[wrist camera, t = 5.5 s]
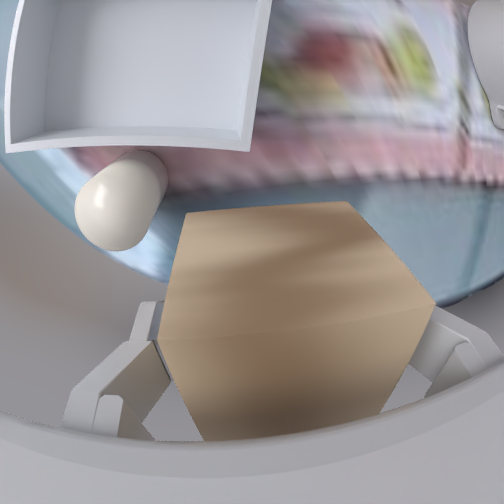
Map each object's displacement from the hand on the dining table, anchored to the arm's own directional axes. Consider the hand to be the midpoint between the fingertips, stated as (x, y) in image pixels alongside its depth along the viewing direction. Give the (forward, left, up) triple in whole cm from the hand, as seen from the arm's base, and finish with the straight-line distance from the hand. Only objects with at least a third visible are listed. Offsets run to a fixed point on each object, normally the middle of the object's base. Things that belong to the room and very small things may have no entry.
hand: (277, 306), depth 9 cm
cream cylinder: (+8, +1, -16) cm, 18 cm away
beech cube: (0, 0, -2) cm, 2 cm away
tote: (+9, -9, -16) cm, 20 cm away
